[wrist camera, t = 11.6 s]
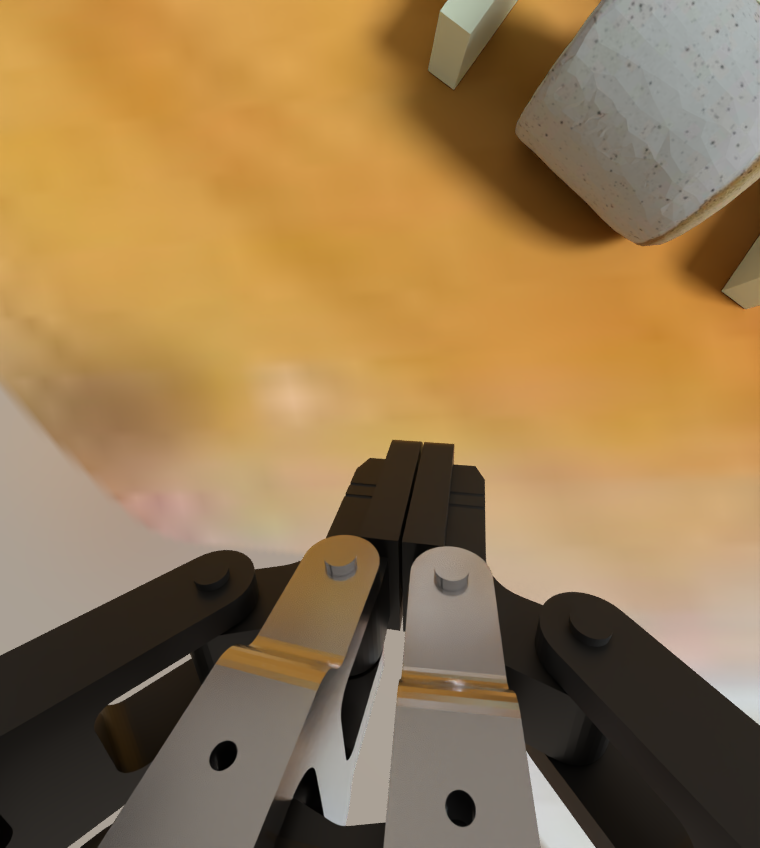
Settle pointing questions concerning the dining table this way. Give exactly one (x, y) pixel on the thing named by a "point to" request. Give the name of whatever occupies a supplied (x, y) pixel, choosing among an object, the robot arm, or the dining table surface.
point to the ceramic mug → (653, 113)
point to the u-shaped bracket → (460, 46)
